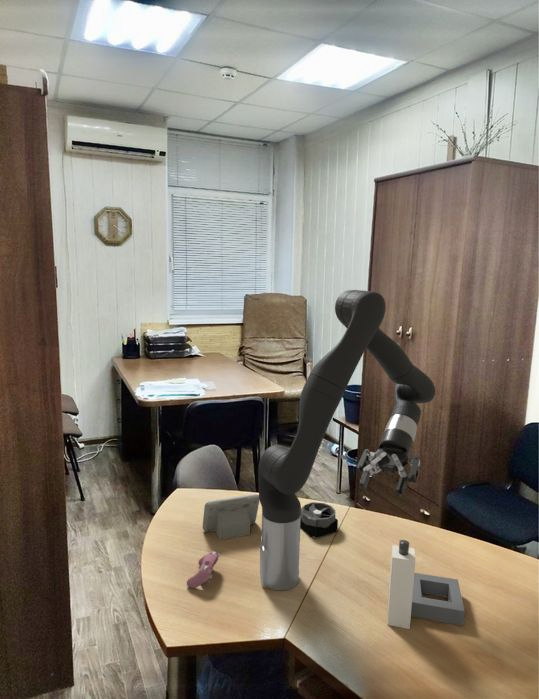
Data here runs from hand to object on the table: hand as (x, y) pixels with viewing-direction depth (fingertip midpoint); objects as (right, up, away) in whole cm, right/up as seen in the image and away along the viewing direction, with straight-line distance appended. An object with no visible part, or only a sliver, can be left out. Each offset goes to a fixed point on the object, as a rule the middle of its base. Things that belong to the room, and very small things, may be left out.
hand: (380, 490), depth 115 cm
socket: (+12, -25, -2) cm, 28 cm away
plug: (+2, -26, -7) cm, 27 cm away
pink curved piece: (-42, -23, +6) cm, 48 cm away
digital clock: (-37, -19, +27) cm, 50 cm away
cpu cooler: (-12, -20, +30) cm, 37 cm away
